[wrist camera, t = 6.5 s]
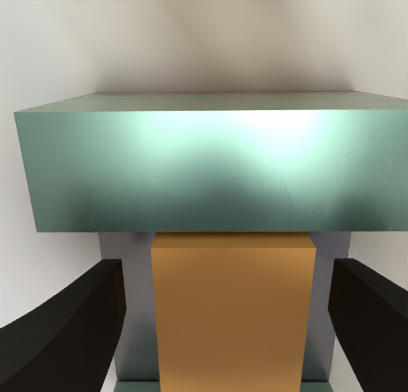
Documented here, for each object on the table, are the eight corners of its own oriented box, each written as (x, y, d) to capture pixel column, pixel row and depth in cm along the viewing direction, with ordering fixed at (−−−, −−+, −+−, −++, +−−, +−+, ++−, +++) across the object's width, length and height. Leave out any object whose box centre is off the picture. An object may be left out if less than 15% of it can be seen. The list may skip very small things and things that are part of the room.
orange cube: (277, 183, 13) (315, 248, 8) (269, 294, 15) (298, 400, 10) (171, 183, 13) (150, 248, 9) (176, 295, 15) (161, 399, 10)
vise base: (354, 90, 13) (460, 108, 8) (306, 449, 20) (344, 596, 15) (94, 93, 14) (14, 112, 8) (134, 448, 20) (106, 593, 15)
